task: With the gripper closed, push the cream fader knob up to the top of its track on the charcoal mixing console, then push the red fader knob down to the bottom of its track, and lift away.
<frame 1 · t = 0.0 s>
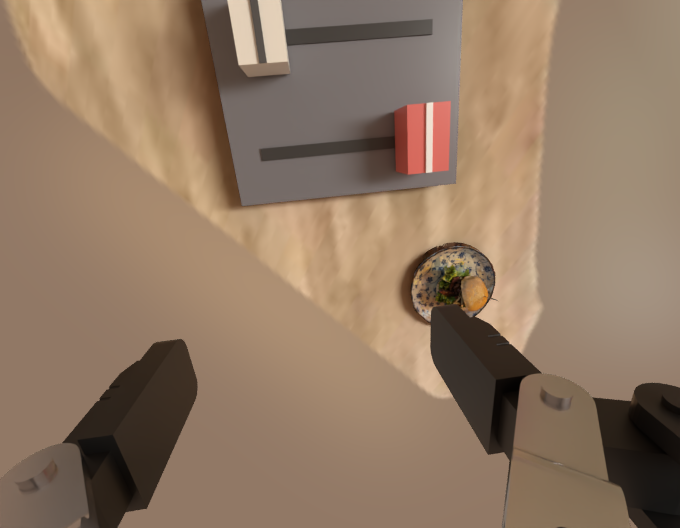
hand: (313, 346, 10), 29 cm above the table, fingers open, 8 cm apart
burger: (447, 282, 44), on the table
console: (340, 98, 34), on the table
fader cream: (260, 28, 27), point 6 cm above the table, slide at 0.0 cm
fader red: (421, 139, 31), point 6 cm above the table, slide at 14.0 cm
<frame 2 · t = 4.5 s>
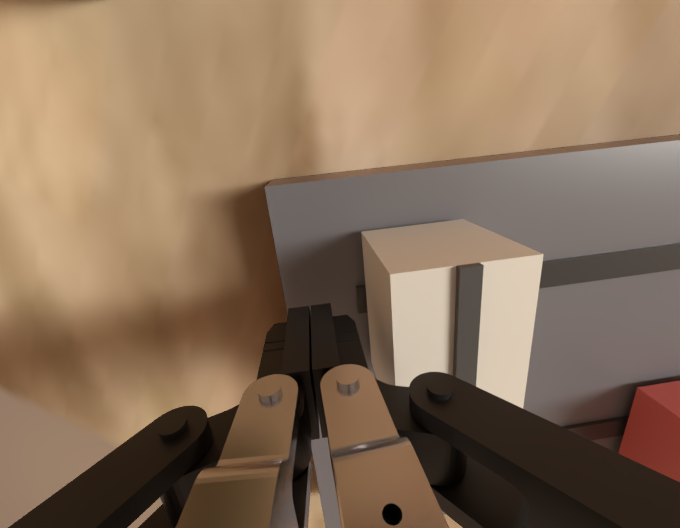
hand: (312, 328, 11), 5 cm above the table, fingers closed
console: (508, 332, 18), on the table
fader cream: (435, 324, 11), point 6 cm above the table, slide at 0.4 cm, touching gripper
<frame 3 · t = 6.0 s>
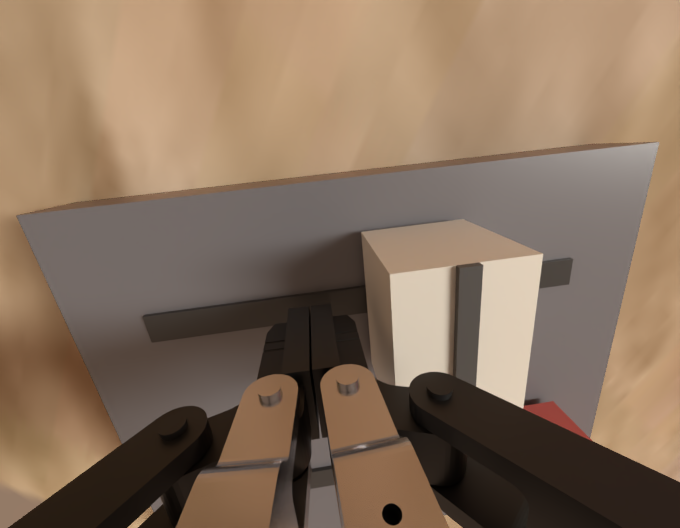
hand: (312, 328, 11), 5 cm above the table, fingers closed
console: (363, 353, 18), on the table
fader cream: (435, 324, 11), point 6 cm above the table, slide at 8.9 cm, touching gripper
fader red: (540, 494, 15), point 6 cm above the table, slide at 14.0 cm
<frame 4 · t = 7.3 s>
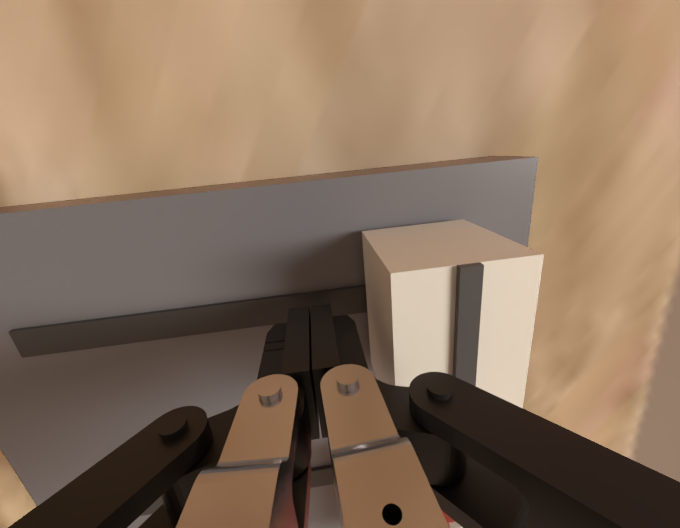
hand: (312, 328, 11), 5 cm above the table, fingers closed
console: (274, 365, 18), on the table
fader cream: (435, 324, 11), point 6 cm above the table, slide at 13.9 cm, touching gripper
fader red: (433, 513, 14), point 6 cm above the table, slide at 14.0 cm
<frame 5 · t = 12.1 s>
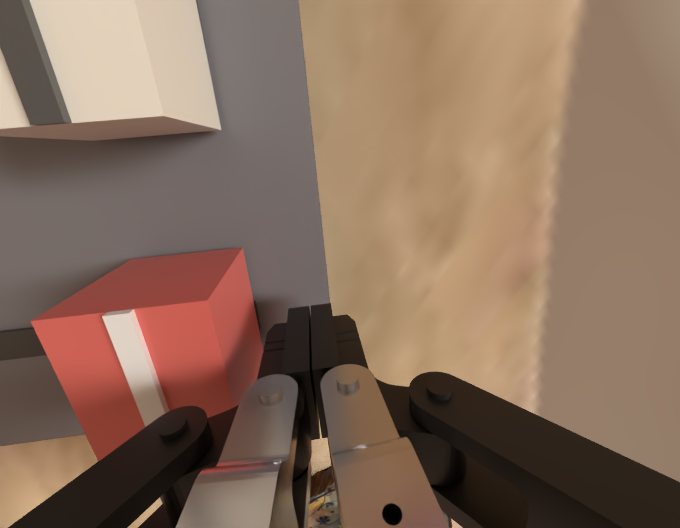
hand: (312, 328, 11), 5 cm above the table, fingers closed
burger: (364, 510, 23), on the table
console: (37, 203, 14), on the table
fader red: (185, 360, 10), point 6 cm above the table, slide at 14.0 cm, touching gripper
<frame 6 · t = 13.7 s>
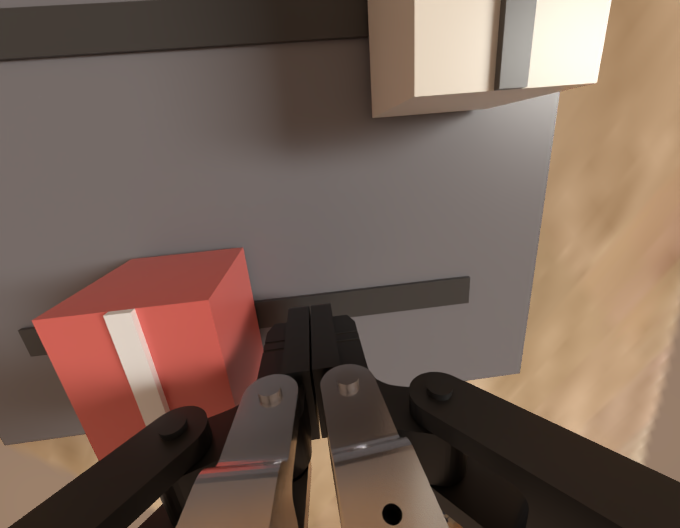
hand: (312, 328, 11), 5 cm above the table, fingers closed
console: (248, 183, 14), on the table
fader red: (185, 360, 10), point 6 cm above the table, slide at 5.0 cm, touching gripper
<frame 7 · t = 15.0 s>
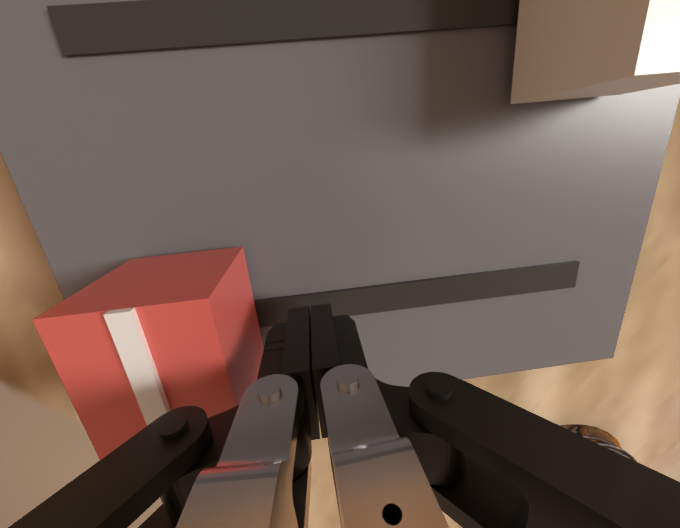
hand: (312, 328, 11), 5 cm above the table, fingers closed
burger: (544, 479, 24), on the table
console: (355, 172, 14), on the table
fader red: (186, 359, 10), point 6 cm above the table, slide at 0.1 cm, touching gripper
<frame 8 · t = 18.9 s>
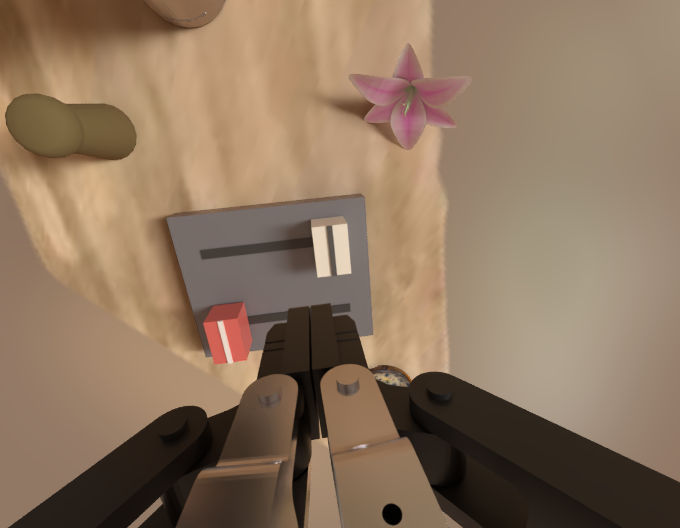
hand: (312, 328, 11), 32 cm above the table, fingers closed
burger: (379, 392, 54), on the table
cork: (109, 132, 37), on the table
lily: (396, 106, 39), on the table
console: (281, 273, 44), on the table
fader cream: (330, 246, 38), point 6 cm above the table, slide at 14.1 cm
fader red: (229, 332, 40), point 6 cm above the table, slide at 0.0 cm
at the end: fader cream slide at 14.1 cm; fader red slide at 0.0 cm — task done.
